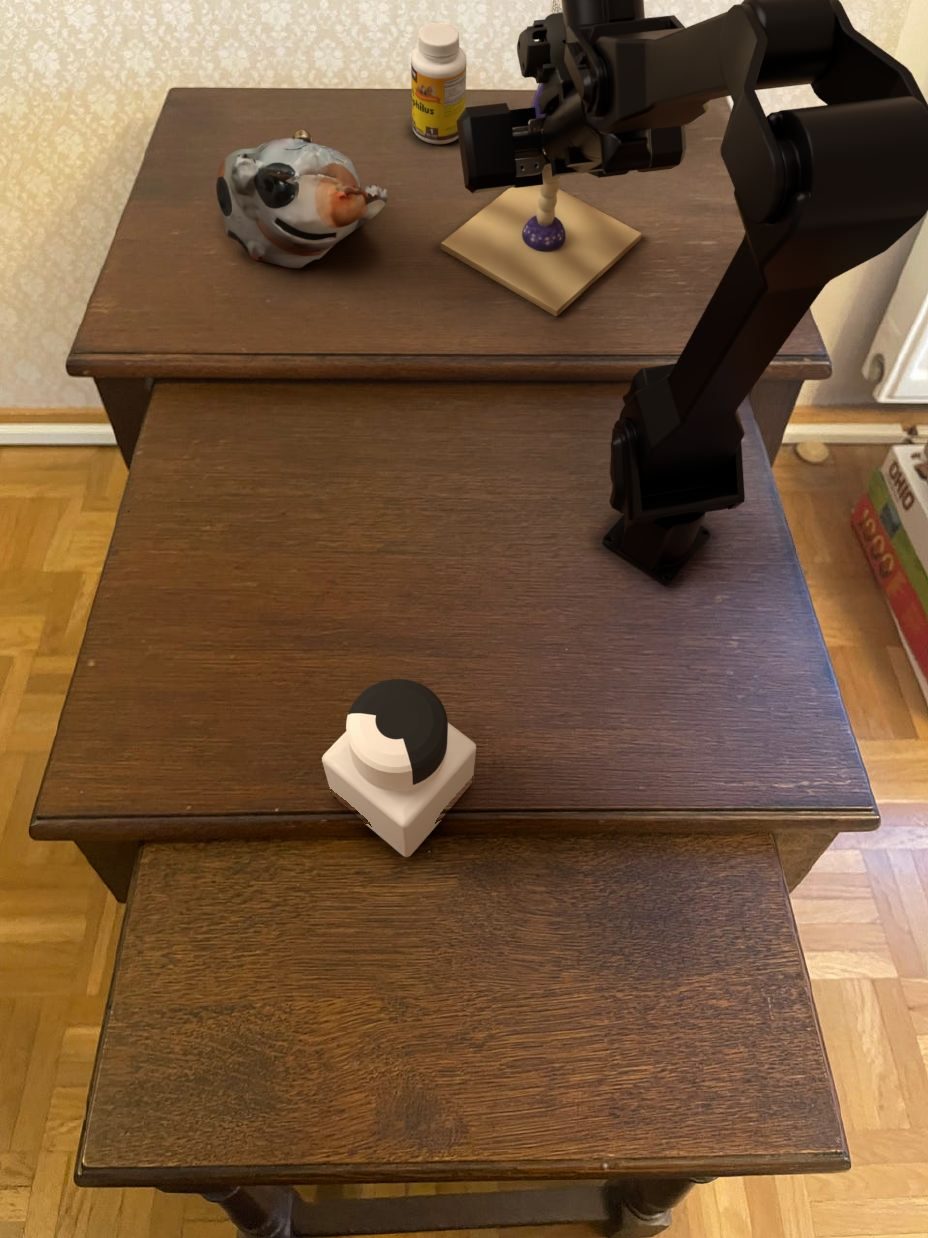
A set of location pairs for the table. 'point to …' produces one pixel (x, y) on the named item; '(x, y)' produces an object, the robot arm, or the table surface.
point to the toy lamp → (545, 207)
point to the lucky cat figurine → (293, 199)
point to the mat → (541, 274)
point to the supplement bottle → (438, 83)
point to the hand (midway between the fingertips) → (546, 159)
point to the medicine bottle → (399, 761)
